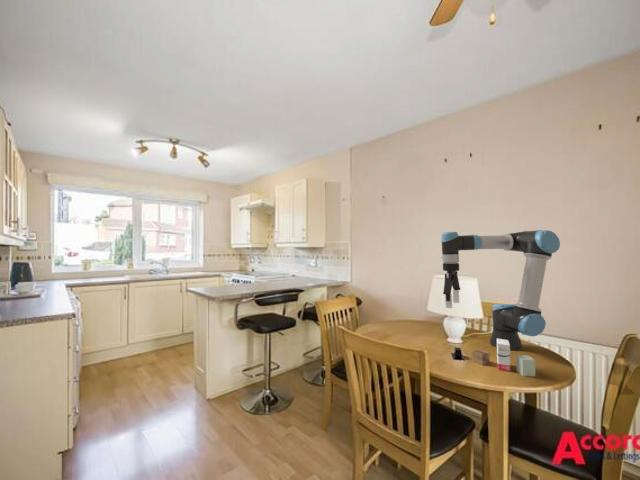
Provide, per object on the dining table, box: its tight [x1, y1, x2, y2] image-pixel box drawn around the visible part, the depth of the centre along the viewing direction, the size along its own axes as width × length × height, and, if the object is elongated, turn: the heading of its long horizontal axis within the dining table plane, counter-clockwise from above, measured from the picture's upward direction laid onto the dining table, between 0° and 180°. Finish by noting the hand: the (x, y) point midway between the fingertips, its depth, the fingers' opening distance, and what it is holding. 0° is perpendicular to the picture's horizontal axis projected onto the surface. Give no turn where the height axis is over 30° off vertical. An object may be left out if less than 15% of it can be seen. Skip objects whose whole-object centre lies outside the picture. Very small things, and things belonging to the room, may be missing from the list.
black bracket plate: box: [450, 346, 466, 362], centre depth 145 cm, size 12×7×5 cm, turn 162°
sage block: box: [515, 354, 536, 377], centre depth 125 cm, size 5×5×7 cm
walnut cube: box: [472, 349, 491, 366], centre depth 138 cm, size 5×5×5 cm
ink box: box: [496, 339, 512, 372], centre depth 132 cm, size 8×5×12 cm, turn 152°
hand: (452, 305), depth 143 cm, fingers open, 13 cm apart
